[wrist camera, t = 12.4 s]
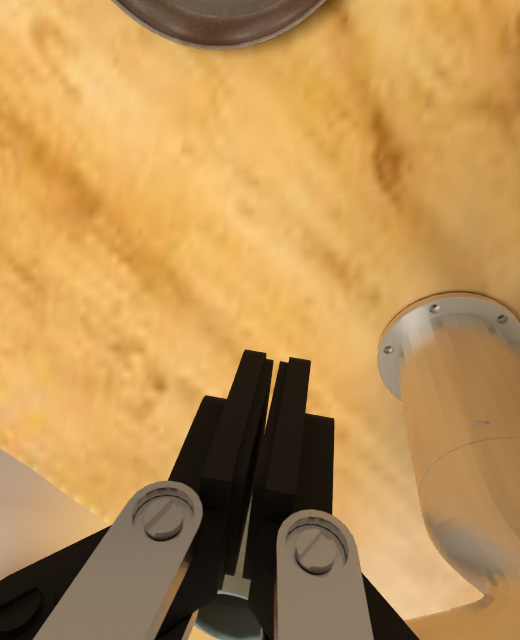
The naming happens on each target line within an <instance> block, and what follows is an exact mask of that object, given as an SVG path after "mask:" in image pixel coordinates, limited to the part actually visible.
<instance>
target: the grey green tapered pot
mask: <svg viewBox="0 0 520 640" xmlns="http://www.w3.org/2000/svg"><path fill="white" fill-rule="evenodd" d="M250 509H251V502H250V507H249V511H248V516H247V521H246V525H245V530H244V535H243V539H242V544H241V549H240V553H239V558H238V563H237V567H236V572H235V575H234V576H230V575H226V574H225V578H224V582H223V586H222V590H218V592H217V596H216V598H215V599H213V600H212V601H210V602H209V603H207V604H206V605H204V606H203V607H201V608H200V609H199V611H198V615H197V618H196V621H195V623H194V625H195V626H196V627H197V628H198V629H200V630H202V631H203V632H205V633H207V634H208V635H210V636H212V637H214V638H217V639H220V640H260V632H261V626H260V624H259V622H258V621H257V619H256V618H255V616H254V614H253V613H252V611H251V610H250V608H249V606H248V605H247V603H248V596H249V589H250V582H251V580H248V579H244V578H242V574H243V566H244V558H245V550H246V542H247V533H248V525H249V517H250Z"/></svg>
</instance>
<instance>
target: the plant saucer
mask: <svg viewBox="0 0 520 640" xmlns="http://www.w3.org/2000/svg"><path fill="white" fill-rule="evenodd" d="M112 1H113V2H114V3H115V4H116V5H117V6H118V7H119V8H120V9H121V10H122V11H123V12H125V13H126V14H127V15H128V16H129V17H131V18H132V19H133V20H134V21H136V22H137V23H139V24H140V25H142V26H143V27H145V28H147V29H148V30H150V31H152V32H153V33H155V34H157V35H159V36H161V37H163V38H165V39H168V40H170V41H173V42H175V43H178V44H181V45H185V46H189V47H194V48H199V49H207V50H227V49H237V48H243V47H248V46H252V45H255V44H258V43H261V42H264V41H267V40H269V39H272V38H274V37H276V36H278V35H280V34H282V33H284V32H286V31H288V30H290V29H291V28H293V27H294V26H296V25H297V24H299V23H300V22H302V21H303V20H305V19H306V18H307V17H308V16H309V15H311V14H312V13H313V12H314V11H315V10H317V9H318V8H319V7H320V6H321V5H322V4H323V3H324V2H325V1H326V0H112Z"/></svg>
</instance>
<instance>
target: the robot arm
mask: <svg viewBox="0 0 520 640" xmlns="http://www.w3.org/2000/svg"><path fill="white" fill-rule="evenodd" d="M435 304H436V305H435ZM432 305H435V306H432ZM500 315H501V316H500ZM387 346H388V347H387ZM377 359H378V368H379V372H380V375H381V378H382V380H383V382H384V384H385V385H386V387H387V388H388V389H389V390H390V392H391V393H392V394H393V395H394V396H395V397H397V398H398V399H399V400H400V401H402V404H403V410H404V416H405V421H406V427H407V433H408V438H409V444H410V450H411V455H412V461H413V467H414V472H415V478H416V484H417V489H418V495H419V501H420V506H421V512H422V517H423V520H424V524H425V527H426V530H427V532H428V535H429V537H430V539H431V541H432V542H433V544H434V546H435V547H436V549H437V550H438V552H439V553H440V555H441V556H442V557H443V558H444V559H445V560H446V561H447V562H448V564H449V565H450V566H451V567H452V568H453V569H454V570H455V571H456V572H458V573H459V574H460V575H461V576H462V577H463V578H464V579H465V580H467V581H468V582H469V583H470V584H472V585H473V586H474V587H475V588H477V589H478V590H479V591H481V592H482V593H483V594H485V596H484V597H483V598H482V599H480V600H478V601H476V602H474V603H471V604H467V605H463V606H460V607H456V608H452V609H450V610H449V611H445V612H440V613H436V614H431V615H427V616H422V617H418V618H413V619H409V620H404V621H403V619H402V618H401V617H400V616H399V615H398V614H397V613H396V611H395V610H394V609H393V608H392V607H391V606H390V604H389V603H388V602H387V601H386V600H385V599H384V598H383V596H382V595H381V594H380V593H379V592H378V591H377V590H376V588H375V587H374V586H373V585H372V584H371V583H370V581H369V580H368V579H367V578H366V577H365V576H364V575H363V573H362V572H361V567H360V562H359V557H358V551H357V547H356V544H355V541H354V538H353V536H352V534H351V533H350V531H349V530H348V528H347V527H346V526H345V525H344V524H343V523H342V522H341V521H340V520H339V519H337V518H336V517H334V516H332V500H333V461H334V418H329V417H323V416H318V415H312V414H307V413H305V410H306V401H307V392H308V383H309V374H310V365H311V361H310V360H304V359H298V358H292V357H290V358H289V363H287V362H282V361H280V364H279V369H278V374H277V378H276V383H275V387H274V392H273V397H272V401H271V406H270V411H269V415H268V420H267V424H266V417H267V409H268V401H269V393H270V386H271V378H272V370H273V360H270V359H266V353H263V352H257V351H251V350H244V353H243V356H242V358H241V361H240V364H239V367H238V370H237V373H236V375H235V378H234V381H233V384H232V387H231V390H230V392H229V395H228V398H227V399H224V398H218V397H212V396H207V395H206V396H205V397H204V398H203V400H202V402H201V404H200V406H199V409H198V411H197V413H196V416H195V418H194V420H193V423H192V425H191V428H190V430H189V432H188V435H187V437H186V439H185V442H184V444H183V446H182V449H181V451H180V453H179V456H178V458H177V460H176V463H175V465H174V467H173V470H172V472H171V474H170V477H169V479H168V481H159V482H156V483H153V484H150V485H147V486H145V487H144V488H142V489H141V490H139V491H137V492H136V493H135V495H134V496H133V497H132V498H131V499H130V500H129V501H128V503H127V504H126V506H125V507H124V508H123V510H122V511H121V513H120V514H119V516H118V517H117V519H116V520H115V521H114V523H113V524H112V525H111V526H109V527H107V528H105V529H103V530H101V531H99V532H97V533H95V534H92V535H90V536H88V537H86V538H84V539H82V540H80V541H78V542H76V543H74V544H72V545H70V546H68V547H66V548H64V549H62V550H60V551H58V552H56V553H54V554H52V555H50V556H48V557H45V558H44V559H41V560H39V561H37V562H36V563H33V564H31V565H29V566H27V567H25V568H23V569H21V570H19V571H17V572H15V573H13V574H11V575H9V576H7V577H6V578H4V579H2V580H1V581H0V640H188V637H189V635H190V633H191V630H192V628H193V625H194V623H195V621H196V618H197V615H198V611H199V609H200V608H201V607H203V606H204V605H206V604H207V603H209V602H210V601H212V600H213V599H215V598H216V596H217V592H218V590H222V586H223V582H224V578H225V574H226V575H230V576H234V575H235V572H236V567H237V563H238V558H239V553H240V549H241V544H242V539H243V535H244V530H245V525H246V521H247V516H248V511H249V507H250V502H251V509H250V517H249V525H248V533H247V542H246V550H245V558H244V566H243V574H242V578H244V579H248V580H251V582H250V589H249V596H248V603H247V605H248V606H249V608H250V610H251V611H252V613H253V614H254V616H255V618H256V619H257V621H258V622H259V624H260V626H261V632H260V640H520V322H519V321H518V319H517V318H516V317H515V315H514V314H513V313H512V312H511V311H510V310H508V309H507V308H506V307H505V306H504V305H502V304H500V303H498V302H497V301H495V300H493V299H491V298H488V297H485V296H482V295H478V294H472V293H465V292H460V293H445V294H439V295H434V296H431V297H428V298H425V299H422V300H420V301H418V302H416V303H414V304H412V305H410V306H408V307H407V308H405V309H404V310H403V311H402V312H400V313H399V314H398V315H396V317H395V318H394V319H393V320H392V321H391V322H390V323H389V324H388V326H387V327H386V329H385V331H384V332H383V334H382V336H381V339H380V342H379V345H378V354H377ZM265 424H266V429H265ZM264 432H265V434H264ZM251 497H252V500H251Z"/></svg>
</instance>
